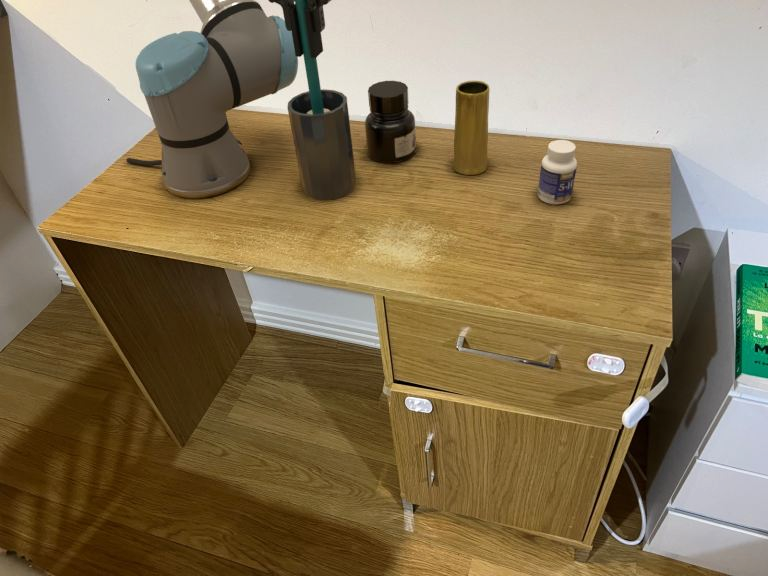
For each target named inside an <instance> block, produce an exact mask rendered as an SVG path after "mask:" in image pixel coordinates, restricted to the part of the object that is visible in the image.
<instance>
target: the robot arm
mask: <svg viewBox="0 0 768 576" xmlns="http://www.w3.org/2000/svg"><path fill="white" fill-rule="evenodd" d="M188 1H189V3H190V4H191V6H192V8H193V9H194V11H195V13H196V14H197V16H198V18H199V20H200V21H201V23H202V25H201V28H200V32H199V31H194V30H184V31H180V32H179V33H177V32H173V33H170V34H166V35H164V36H161V37H159V38H157V39H155V40H154V41H151V42H149V43H148V44H147V45H146V46H145V47H143V48H142V49H141V50H140V52H139V54H137V57H136V59H135V70H136V73H137V77H138V82H139V87H140V88H139V89H140V90H141V93H142V94H143V96H144V99H145V101H146V104H147V106H148V110H149V112H150V115H151V119H152V121H153V124H154V127H155V129H156V132H157V135H158V138H159V140H160V141H159V142H160V144H161V159H156V160H144V159H138V158H132V157H126V160H125V161H126V163H127V164H132V165H139V166H146V167H153V166H154V167H155V166H161V178H162V181H163V184H164V187H165V189H166V190H167V192H169V193H170V194H172V195H173V196H176V197H179V198H182V199H183V198H184V199H203V198H204V199H205V198H210V197H211V198H212V197H215V196H218V195H222V194H224V193H226V192H229V191H231V190H233V189H235V188H236V187H238V186H239V185H241V184H242V183H243V182H244V181H246V179H247V178H248V176H249V175H250V172H251V164H250V161H249V157H248V155H247V152H245V150H244V149H243V148H242V146H243V144H242V142H241V141H240V140H239V139H237V138H236V136H235V135H234V133H233V132H232V130H231V128H230V124H229V121H228V117H227V113H226V112H228V111H231V110H234V109H236V108H238V107H241V106H243V105H246V104H249V103H251V102H254V101H257V100H259V99H261V98H265V97H268V96H270V95H275V94H277V93H278V92H279V91H281V90H283V89H285V88H288V87H289V86H290V85H292V84H293V83H294V81H295V79H296V77H297V74H298V70H299V69H298V68H299V58H301V57H302V56H304V55H303V49H302V43H301V36H300V30H299V23H298V17H297V11H296V4H295V0H267V1H268V2H270V3H271V4H273V3H275V4H277V5H279V6H280V7H281V9H282V13H283V18H282V17H280V16H279V15H274V14H273V15H269V16H267V14H266V12H265V11H264V9H263V6H262V5H261V4H260V3H259V2H258V1H257V0H188ZM331 1H332V0H308V6H307V8H306V9H305V10H304V13H305V19H306V26H307V33H308V39H309V46H310V53H311V58H316V59H317V58H318V57H319V56H320V55H321V54H322V53H323V52H324V47H323V46H324V45H323V40H322V39H323V37H322V32H323V31H324V30H325V28H326V20H325V12H324V11H325V10H324V6H326V5H328V4H329V3H330V2H331Z"/></svg>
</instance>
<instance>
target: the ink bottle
mask: <svg viewBox="0 0 768 576" xmlns="http://www.w3.org/2000/svg"><path fill="white" fill-rule="evenodd" d="M367 96H368V107H369V112H370V113H369V114H368V115H367V116H366V118H365V121H364V127H365V139H366V149H367V154H368V156H369V158H371V159H372V160H374V161H377V162H381V163H399V162H403V161H406V160H408V159H410V158H411V157H412V156H414V154H415V153H416V150H417V137H416V117H415V115H414V114H413V112H412V111H411V110H410V109H409V86H408V85H407V84H406V83H404V82H402V81H398V80H383V81H378V82H376V83H373V84H372V85H370V86H369V87H368V90H367Z"/></svg>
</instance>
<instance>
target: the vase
mask: <svg viewBox="0 0 768 576" xmlns="http://www.w3.org/2000/svg"><path fill="white" fill-rule="evenodd" d="M489 111H490V85H489V84H488V83H486V82H485V81H482V80H468V81H467V80H466V81H462V82H460V83H459V84H457V86H456V88H455V113H454V136H453V161H452V169H453V170H454V171H455V172H456V173H458V174H460V175H463V176H476V175H480V174H482V173H484V172H485V171H487V169H488V167H489V161H488V160H489V159H488V141H489Z"/></svg>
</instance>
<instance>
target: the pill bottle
mask: <svg viewBox="0 0 768 576" xmlns="http://www.w3.org/2000/svg"><path fill="white" fill-rule="evenodd" d="M576 148H577V145H575V143H574V142H572V141H570V140H566V139H557V140H552V141H551V142H549V144H548V146H547V153H546V155H545V156H544V157H543V158H542V160H541V165H540V171H539V172H540V174H539V180H538V186H537V197H538V198H539V200H540V201H542V202H544V203H545V204H549V205H563V204H566V203H568V202H569V201H570V200H571V199H572V195H573V189H574V185H575V179H576V173H577V169H578V160H577V159H576V157H575V155H576Z"/></svg>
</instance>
